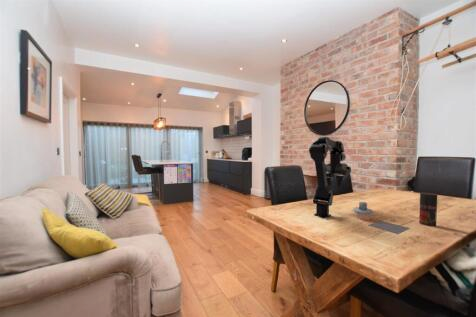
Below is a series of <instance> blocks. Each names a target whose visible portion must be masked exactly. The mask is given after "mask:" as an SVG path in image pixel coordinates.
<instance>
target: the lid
mask: <svg viewBox="0 0 476 317" xmlns="http://www.w3.org/2000/svg"><path fill="white" fill-rule="evenodd" d="M353 212H354V213H355V212H357V213H361V214H371V215H372V214H373V213H374V210H372V209H371V208H368V202H366V201H360V202H358V206H357V207H353Z"/></svg>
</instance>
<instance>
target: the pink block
mask: <svg viewBox="0 0 476 317" xmlns="http://www.w3.org/2000/svg"><path fill="white" fill-rule="evenodd" d="M354 217H355V219H358V220H362V221H370V220H372V214H361V213H357V212H354Z"/></svg>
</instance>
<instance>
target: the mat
mask: <svg viewBox="0 0 476 317" xmlns="http://www.w3.org/2000/svg"><path fill="white" fill-rule="evenodd" d="M367 226H369V227H372V228H375V229H379V230H382V231H386V232H389V233H392V234H396V235H399V234H401V233H404V232H405V231H408V230H410V229H411V227H407V226H403V225H399V224H395V223H391V222H387V221H384V220H378V221H376V222H372V223H370V224H368V225H367Z"/></svg>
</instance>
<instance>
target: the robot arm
mask: <svg viewBox="0 0 476 317" xmlns="http://www.w3.org/2000/svg"><path fill="white" fill-rule="evenodd" d="M328 152H329V163H328V166H329V170H328V171H326V169H327V168H326V164H325V160H326V158H327V156H328ZM308 153H309V156H310V159H312V161H313V162H314V165H315V166H314V167H315V173H316V174H315V175H316V181H317V188H316V190H315V194H314V197H313V199H312V204H314V205H315V204H316V205H315V206H316V211H315V213H313V216H317V217H319V218H324V219H325V218H329V217H332V214H330V206H332V205H333V198H334V194H333V189H332V185H333V180H334V179H335V178H336V182H337V186H338V188H341V187H342V184H343V181H344V179H345V178H347V177H348V176H350V174H351V173H352V167H351V166H343V164H342V163H341V162H344V161H345V160H346V157H347V156H346V154H345V148H344V144H343V142H342V141H340V140H333V139H331V138H330V137H328V136H319V137H318V138H317V139H316V140H314V141H313V142H312V143H311V144H310V146H309V149H308Z"/></svg>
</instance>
